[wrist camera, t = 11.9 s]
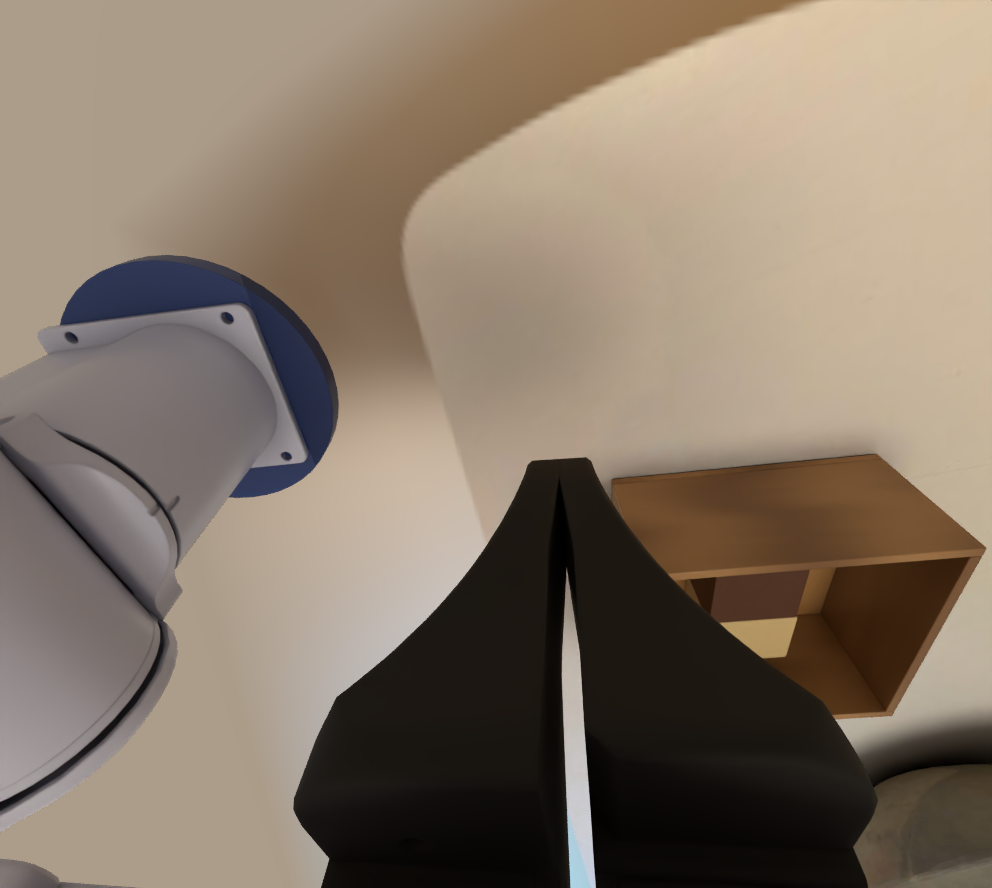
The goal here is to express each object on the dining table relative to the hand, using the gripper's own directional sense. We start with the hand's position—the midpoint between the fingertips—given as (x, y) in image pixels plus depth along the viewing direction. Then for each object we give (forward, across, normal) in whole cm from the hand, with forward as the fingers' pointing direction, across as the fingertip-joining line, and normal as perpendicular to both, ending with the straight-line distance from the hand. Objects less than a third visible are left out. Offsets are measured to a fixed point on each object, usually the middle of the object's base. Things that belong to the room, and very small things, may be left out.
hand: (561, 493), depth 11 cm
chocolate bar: (+10, -8, +13) cm, 18 cm away
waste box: (+10, -8, +13) cm, 18 cm away
